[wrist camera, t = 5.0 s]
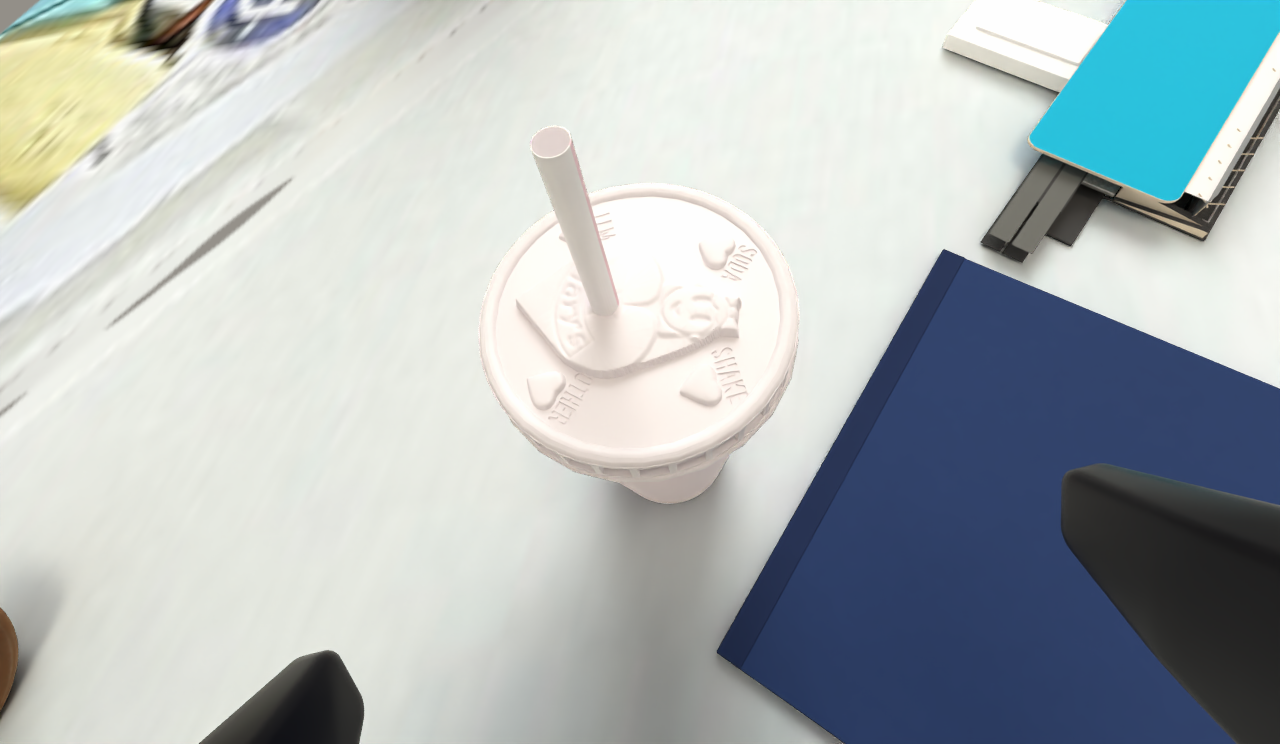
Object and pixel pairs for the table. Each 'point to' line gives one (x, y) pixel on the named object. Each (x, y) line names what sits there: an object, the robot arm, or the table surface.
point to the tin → (7, 656)
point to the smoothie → (638, 329)
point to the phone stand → (1131, 107)
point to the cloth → (993, 527)
